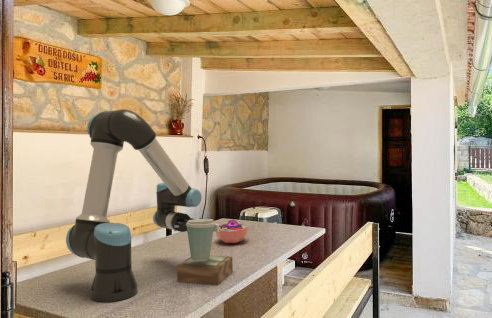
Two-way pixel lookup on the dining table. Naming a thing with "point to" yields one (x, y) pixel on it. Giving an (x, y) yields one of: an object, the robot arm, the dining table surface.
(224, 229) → the cell model
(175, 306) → the dining table surface
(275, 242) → the dining table surface
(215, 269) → the walnut stand
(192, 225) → the disposable coffee cup
